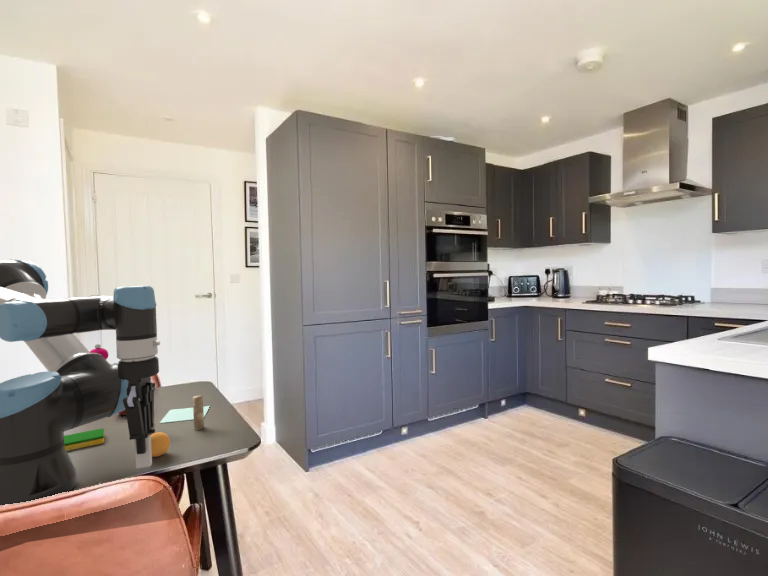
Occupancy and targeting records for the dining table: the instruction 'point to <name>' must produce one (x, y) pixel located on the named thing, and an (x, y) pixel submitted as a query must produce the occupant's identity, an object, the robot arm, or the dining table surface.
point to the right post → (198, 412)
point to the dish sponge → (84, 439)
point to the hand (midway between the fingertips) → (144, 465)
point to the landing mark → (181, 415)
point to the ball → (159, 443)
